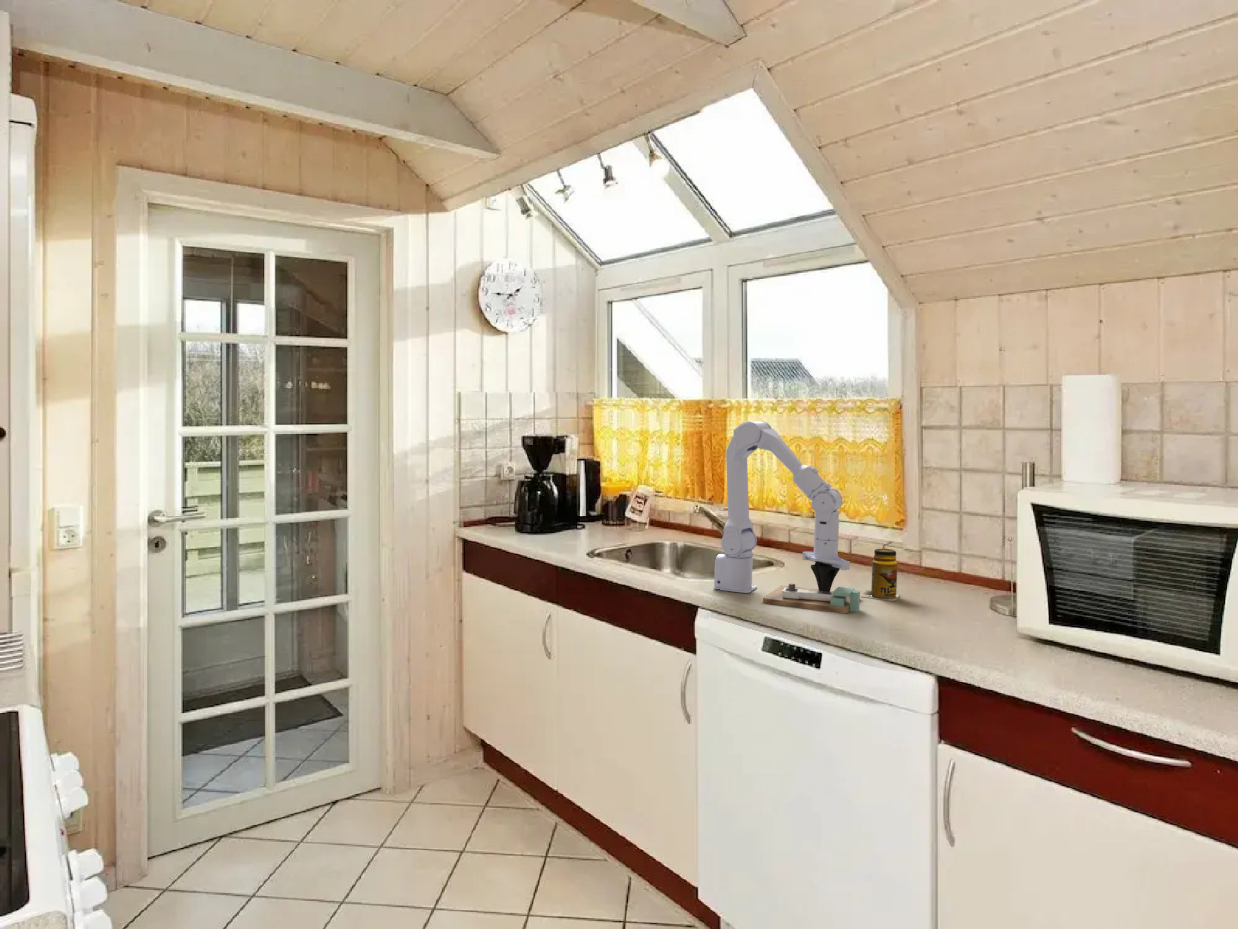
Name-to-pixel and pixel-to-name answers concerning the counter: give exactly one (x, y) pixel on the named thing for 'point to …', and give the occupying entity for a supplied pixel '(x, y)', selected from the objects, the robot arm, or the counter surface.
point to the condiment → (883, 575)
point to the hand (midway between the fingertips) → (824, 593)
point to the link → (810, 595)
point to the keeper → (846, 592)
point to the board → (803, 601)
